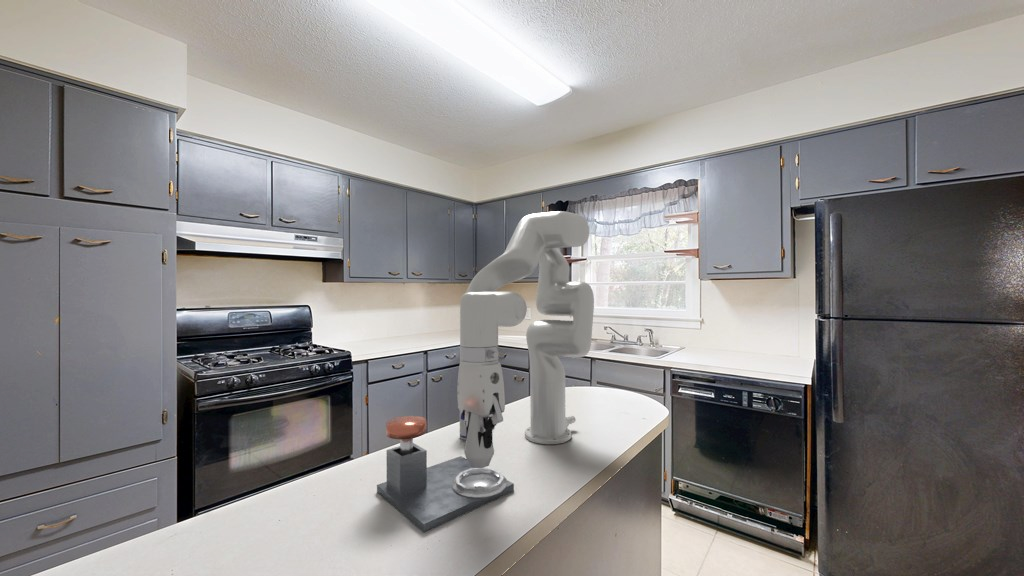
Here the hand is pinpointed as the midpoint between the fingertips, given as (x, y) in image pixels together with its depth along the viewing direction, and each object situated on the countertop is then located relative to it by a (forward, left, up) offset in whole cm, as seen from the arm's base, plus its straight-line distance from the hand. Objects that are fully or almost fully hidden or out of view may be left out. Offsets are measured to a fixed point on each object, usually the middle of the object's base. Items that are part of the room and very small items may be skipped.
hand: (479, 447), depth 78 cm
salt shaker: (0, 0, -3) cm, 3 cm away
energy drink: (-16, -25, -9) cm, 31 cm away
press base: (+5, -5, -9) cm, 11 cm away
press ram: (+11, -9, -3) cm, 14 cm away
